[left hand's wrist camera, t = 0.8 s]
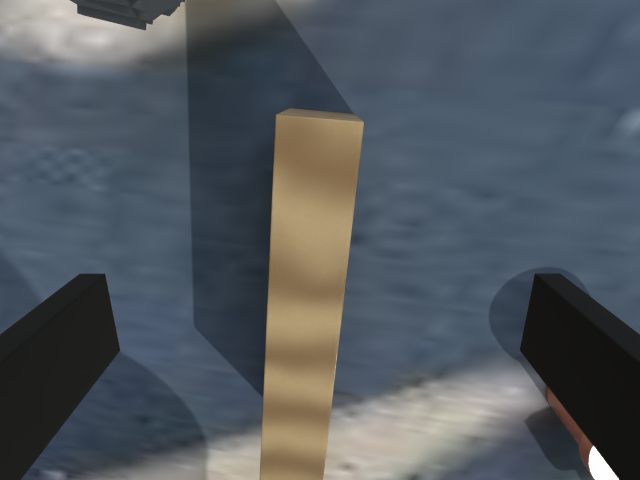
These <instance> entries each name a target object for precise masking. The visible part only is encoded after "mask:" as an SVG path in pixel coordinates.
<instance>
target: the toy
mask: <svg viewBox="0 0 640 480" xmlns="http://www.w3.org/2000/svg"><path fill="white" fill-rule="evenodd" d="M70 1H72V2H74V3H76V4H77V13H78V14H82V15H85V16H89V17H93V18H97V19H101V20H105V21H109V22H113V23H117V24H122V25H126V26H130V27H134V28H138V29H142V30H146V23H148V24H152V23H153V20H154V19H156V18H157V17H158V16H160V15H161V14H162V15H167V16H170V15H171V14H172V13H173V12H174V11H175V10H176V8H177V7H178V6H179V7H180V3H181V2H185V0H70Z"/></svg>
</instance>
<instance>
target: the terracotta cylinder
mask: <svg viewBox="0 0 640 480" xmlns="http://www.w3.org/2000/svg"><path fill="white" fill-rule="evenodd" d="M547 399H548V402H549V405H550V406H551V408H552V409H553V411H554V412H555V413H556V415H557V416H558V418H559V419H560V420H561V422H562V423H563V425H564V426H565V427H566V429H567V430H568V432H569V433H570V435H571V436H572V437H573V439H574V440H575V442H576V443H577V444H578V446H579V454H580V458H581V461H582V463H583V464H584V466H585V467H586V469H587V470H588V472H589V473H590V475H591V476H592V477H593V479H594V480H619V479H618V477H617V476H616V475H615V473H614V472H613V471H612V470H611V468H610V467H609V466H608V464H607V463H606V462H605V460H604V459H603V458H602V457H601V455H600V454H599V453H598V451H597V450H596V449H595V447H594V446H593V445H592V443H591V442H590V441H589V440H588V438H587V437H586V436H585V434H584V433H583V432H582V430H581V429H580V428H579V427H578V425H577V424H576V423H575V421H574V420H573V419H572V417H571V416H570V415H569V414H568V412H567V411H566V410H565V408H564V407H563V406H562V404H561V403H560V402H559V401H558V399H557V398H556V397H555V395H554V394H553V393H552V391H551V390H550V389H549V387H547Z"/></svg>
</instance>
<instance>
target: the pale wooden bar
mask: <svg viewBox="0 0 640 480" xmlns="http://www.w3.org/2000/svg"><path fill="white" fill-rule="evenodd" d="M363 126H364V122H363V121H362V120H360V119H359V118H358V117H357V116H356V115H355V114H350V113H338V112H327V111H315V110H304V109H292V108H290V109H287V110H285V111H283V112H281V113H278V114H276V121H275V143H274V166H273V189H272V212H271V235H270V258H269V280H268V303H267V326H266V349H265V372H264V394H263V417H262V440H261V463H260V480H323V475H324V466H325V458H326V449H327V440H328V431H329V423H330V414H331V405H332V397H333V388H334V379H335V370H336V362H337V353H338V344H339V336H340V327H341V318H342V309H343V301H344V292H345V283H346V275H347V266H348V257H349V248H350V240H351V231H352V222H353V214H354V205H355V196H356V187H357V179H358V170H359V161H360V153H361V144H362V135H363Z"/></svg>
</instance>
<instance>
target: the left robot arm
mask: <svg viewBox="0 0 640 480" xmlns="http://www.w3.org/2000/svg"><path fill="white" fill-rule="evenodd" d="M119 351H120V347H119V342H118V337H117V332H116V327H115V322H114V317H113V312H112V307H111V302H110V297H109V292H108V287H107V282H106V277H105V274H79V275H78V276H76V277H75V278H74V279H72V280H71V281H70V282H68V283H67V284H66V285H65V286H63V287H62V288H61V289H59V290H58V291H57V292H55V293H54V294H53V295H51V296H50V297H49V298H48V299H46V300H45V301H44V302H42V303H41V304H40V305H38V306H37V307H36V308H35V309H33V310H32V311H31V312H29V313H28V314H27V315H25V316H24V317H23V318H21V319H20V320H19V321H18V322H16V323H15V324H14V325H12V326H11V327H10V328H8V329H7V330H6V331H4V332H3V333H2V334H1V335H0V480H21V479H22V477H23V476H24V475H25V473H26V472H27V471H28V470H29V468H30V467H31V466H32V464H33V463H34V462H35V460H36V459H37V458H38V457H39V455H40V454H41V453H42V451H43V450H44V449H45V447H46V446H47V445H48V443H49V442H50V441H51V440H52V438H53V437H54V436H55V434H56V433H57V432H58V430H59V429H60V428H61V427H62V425H63V424H64V423H65V421H66V420H67V419H68V417H69V416H70V415H71V414H72V412H73V411H74V410H75V408H76V407H77V406H78V404H79V403H80V402H81V401H82V399H83V398H84V397H85V395H86V394H87V393H88V391H89V390H90V389H91V387H92V386H93V385H94V384H95V382H96V381H97V380H98V378H99V377H100V376H101V374H102V373H103V372H104V371H105V369H106V368H107V367H108V365H109V364H110V363H111V361H112V360H113V359H114V358H115V356H116V355H117V354H118V352H119ZM520 351H521V352H522V354H523V355H524V356H525V358H526V359H527V360H528V361H529V363H530V364H531V365H532V367H533V368H534V369H535V371H536V372H537V373H538V374H539V376H540V377H541V378H542V380H543V381H544V382H545V384H546V385H547V386H548V387H549V389H550V390H551V391H552V393H553V394H554V395H555V397H556V398H557V399H558V401H559V402H560V403H561V404H562V406H563V407H564V408H565V410H566V411H567V412H568V414H569V415H570V416H571V417H572V419H573V420H574V421H575V423H576V424H577V425H578V427H579V428H580V429H581V430H582V432H583V433H584V434H585V436H586V437H587V438H588V440H589V441H590V442H591V443H592V445H593V446H594V447H595V449H596V450H597V451H598V453H599V454H600V455H601V457H602V458H603V459H604V460H605V462H606V463H607V464H608V466H609V467H610V468H611V470H612V471H613V472H614V473H615V475H616V476H617V477H618V479H619V480H640V335H639V334H638V333H637V332H636V331H634V330H633V329H632V328H630V327H629V326H628V325H626V324H625V323H624V322H622V321H621V320H620V319H619V318H617V317H616V316H615V315H613V314H612V313H611V312H609V311H608V310H607V309H605V308H604V307H603V306H602V305H600V304H599V303H598V302H596V301H595V300H594V299H592V298H591V297H590V296H589V295H587V294H586V293H585V292H583V291H582V290H581V289H579V288H578V287H577V286H575V285H574V284H573V283H572V282H570V281H569V280H568V279H566V278H565V277H564V276H562V275H561V274H535V277H534V282H533V287H532V292H531V297H530V302H529V307H528V312H527V317H526V322H525V327H524V332H523V337H522V342H521V347H520Z"/></svg>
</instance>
